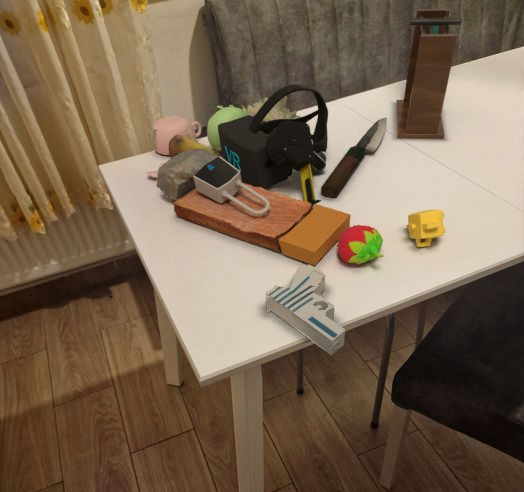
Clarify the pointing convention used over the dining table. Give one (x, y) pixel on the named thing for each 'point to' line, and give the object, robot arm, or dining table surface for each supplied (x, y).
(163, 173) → the stone
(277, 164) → the tape measure
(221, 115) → the green curved piece
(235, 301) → the dining table surface
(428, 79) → the wooden rack
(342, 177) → the kitchen knife
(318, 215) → the wooden plank
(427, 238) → the yellow studded block
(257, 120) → the virtual reality headset
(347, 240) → the strawberry
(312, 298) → the toy gun
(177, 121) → the mug
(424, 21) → the green t-shaped stand
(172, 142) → the fruit
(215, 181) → the padlock
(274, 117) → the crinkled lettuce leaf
